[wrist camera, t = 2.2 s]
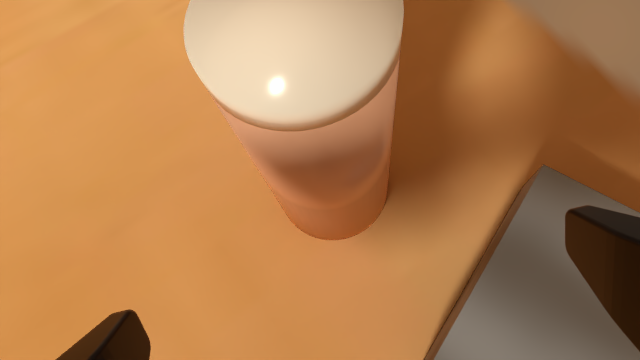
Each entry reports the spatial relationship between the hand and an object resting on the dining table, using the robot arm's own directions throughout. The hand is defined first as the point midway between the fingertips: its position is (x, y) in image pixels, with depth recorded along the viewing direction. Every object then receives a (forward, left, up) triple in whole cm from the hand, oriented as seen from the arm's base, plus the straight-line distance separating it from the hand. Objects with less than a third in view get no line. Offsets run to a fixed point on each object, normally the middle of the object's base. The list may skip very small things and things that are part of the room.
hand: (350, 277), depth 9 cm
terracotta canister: (+5, +5, -13) cm, 14 cm away
